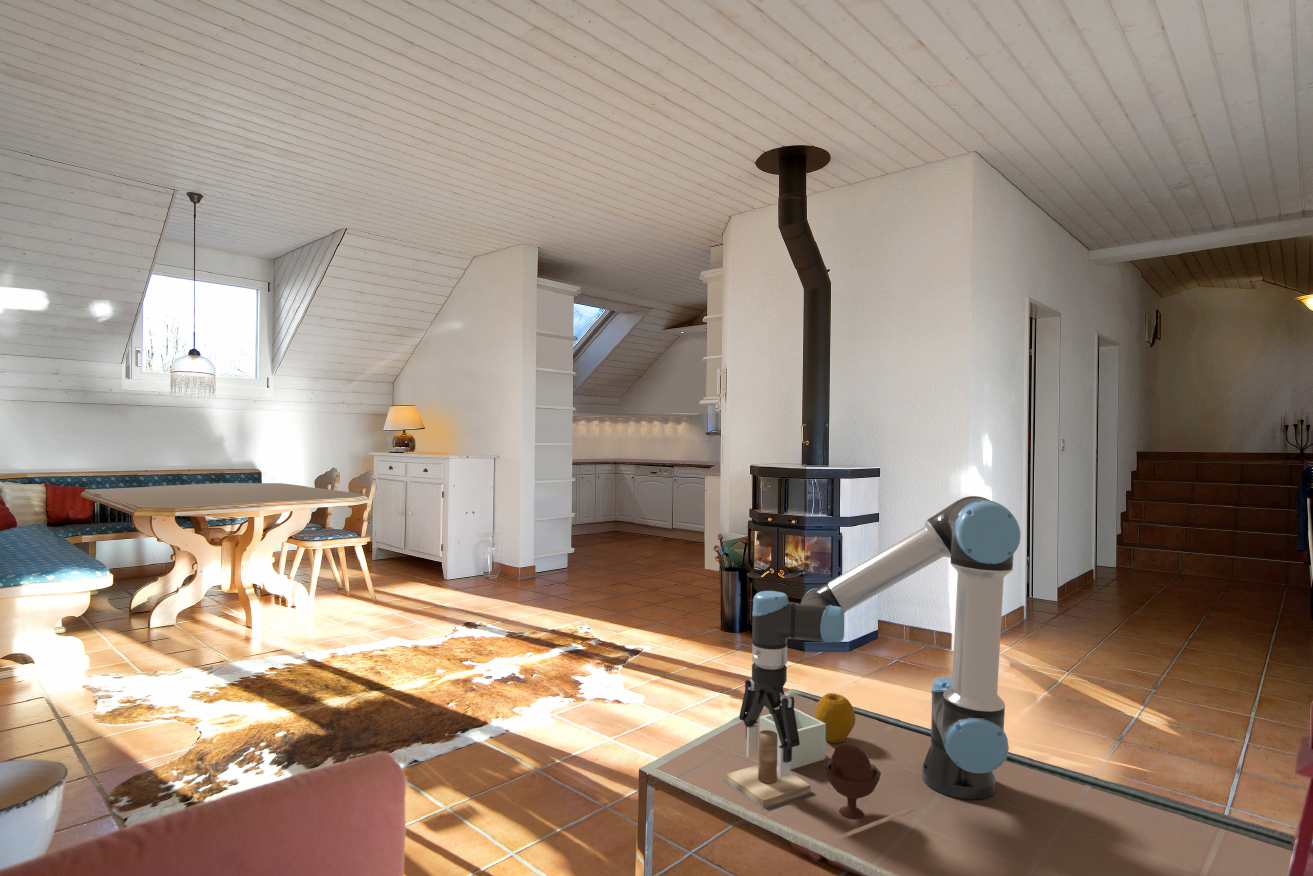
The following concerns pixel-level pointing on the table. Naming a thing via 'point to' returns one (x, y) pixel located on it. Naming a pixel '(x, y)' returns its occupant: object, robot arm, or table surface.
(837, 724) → the apple
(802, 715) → the pale green open box
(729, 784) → the mat
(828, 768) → the ice cream bowl
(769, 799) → the lid
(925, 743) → the table surface
